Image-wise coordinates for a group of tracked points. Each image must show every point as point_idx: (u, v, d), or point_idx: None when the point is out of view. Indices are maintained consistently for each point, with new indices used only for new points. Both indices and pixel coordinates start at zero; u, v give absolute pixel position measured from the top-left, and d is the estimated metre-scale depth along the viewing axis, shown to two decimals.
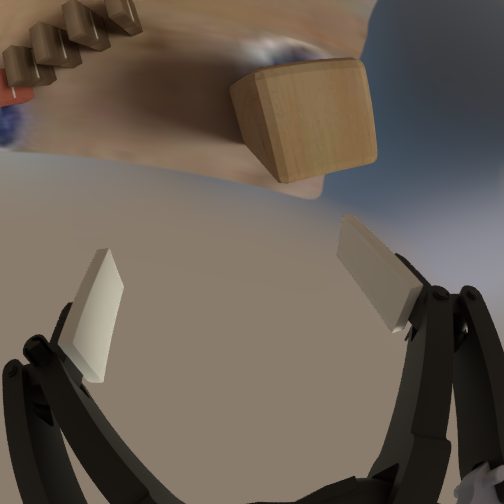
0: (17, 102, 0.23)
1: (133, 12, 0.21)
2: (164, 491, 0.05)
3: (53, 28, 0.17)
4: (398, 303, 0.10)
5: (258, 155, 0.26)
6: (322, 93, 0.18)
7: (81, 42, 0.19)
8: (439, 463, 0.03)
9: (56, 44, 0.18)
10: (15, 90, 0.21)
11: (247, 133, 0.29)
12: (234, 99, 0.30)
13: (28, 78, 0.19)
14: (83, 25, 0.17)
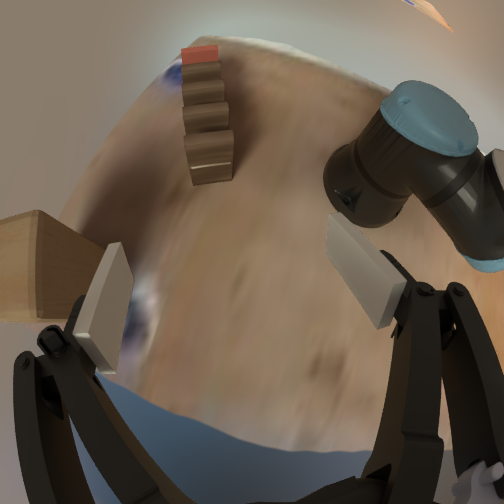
0: None
1: (209, 173, 0.38)
2: (172, 487, 0.05)
3: None
4: (382, 299, 0.10)
5: None
6: (14, 265, 0.16)
7: None
8: (432, 462, 0.04)
9: (200, 104, 0.36)
10: None
11: None
12: None
13: (184, 82, 0.35)
14: (195, 120, 0.32)
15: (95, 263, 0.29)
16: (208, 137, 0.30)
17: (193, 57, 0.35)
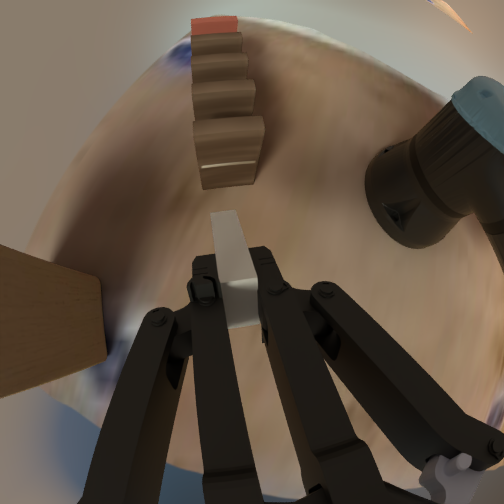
0: None
1: (225, 174, 0.28)
2: None
3: None
4: None
5: None
6: None
7: None
8: (365, 468, 0.04)
9: None
10: None
11: None
12: None
13: None
14: (209, 102, 0.23)
15: (70, 298, 0.20)
16: (228, 124, 0.21)
17: (206, 29, 0.26)
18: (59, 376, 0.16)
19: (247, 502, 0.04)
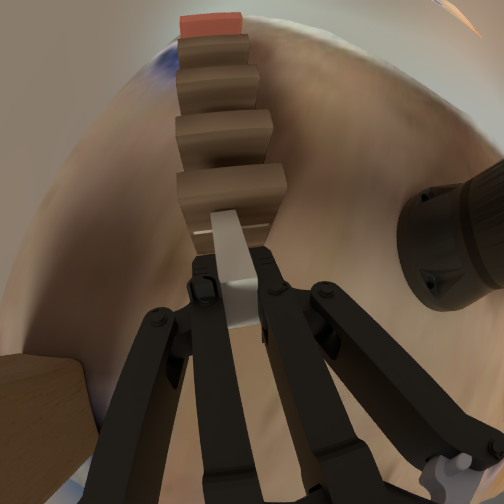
0: None
1: None
2: None
3: (247, 109, 0.20)
4: None
5: None
6: None
7: None
8: (365, 468, 0.04)
9: (211, 110, 0.20)
10: None
11: None
12: (40, 362, 0.16)
13: None
14: (202, 145, 0.16)
15: (49, 408, 0.13)
16: (231, 179, 0.14)
17: (200, 30, 0.19)
18: (55, 490, 0.09)
19: (247, 502, 0.04)
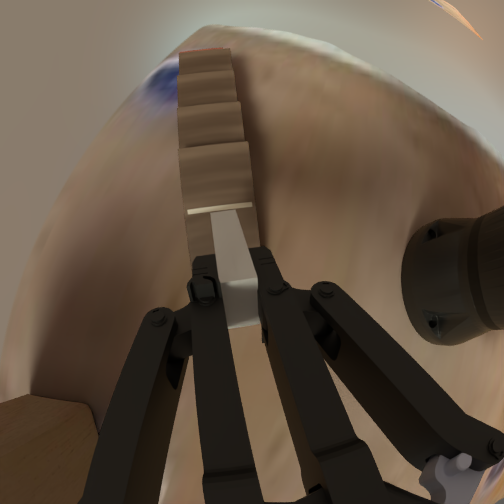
0: None
1: None
2: None
3: (231, 99, 0.24)
4: None
5: None
6: None
7: None
8: (365, 469, 0.04)
9: (202, 100, 0.24)
10: None
11: None
12: (51, 411, 0.15)
13: (180, 70, 0.25)
14: (194, 118, 0.23)
15: (64, 456, 0.12)
16: None
17: None
18: None
19: (247, 502, 0.04)
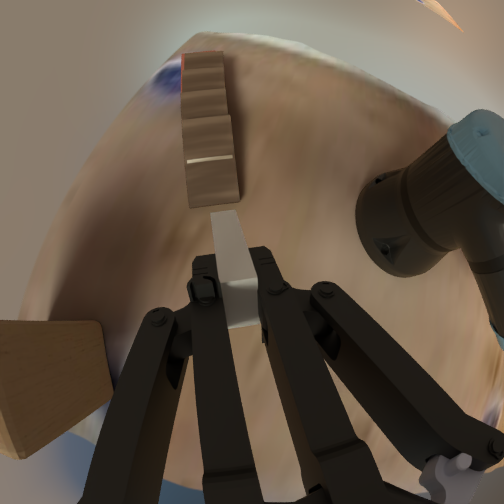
0: None
1: (209, 177, 0.31)
2: None
3: (220, 88, 0.33)
4: None
5: None
6: None
7: None
8: (365, 468, 0.04)
9: (199, 88, 0.32)
10: None
11: None
12: None
13: (185, 66, 0.33)
14: (192, 100, 0.31)
15: (76, 351, 0.20)
16: None
17: None
18: (75, 423, 0.16)
19: (247, 502, 0.04)
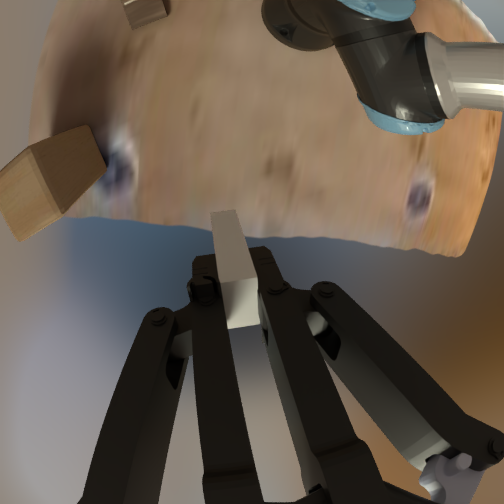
0: None
1: (142, 8, 0.26)
2: None
3: None
4: None
5: None
6: (30, 192, 0.23)
7: None
8: (365, 469, 0.04)
9: None
10: None
11: None
12: None
13: None
14: None
15: (78, 144, 0.32)
16: None
17: None
18: (87, 188, 0.33)
19: (247, 502, 0.04)
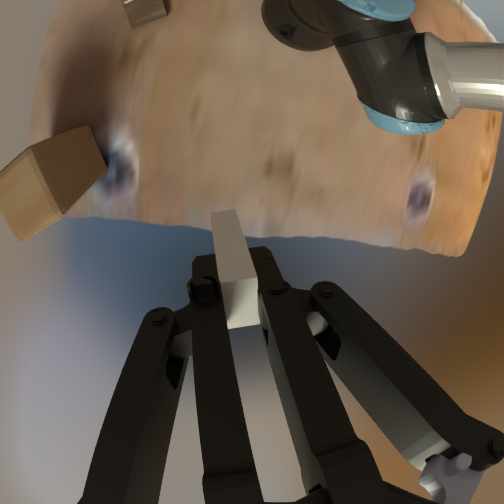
0: None
1: (142, 7, 0.26)
2: None
3: None
4: None
5: None
6: (30, 193, 0.23)
7: None
8: (365, 468, 0.04)
9: None
10: None
11: None
12: None
13: None
14: None
15: (79, 144, 0.32)
16: None
17: None
18: (87, 188, 0.33)
19: (247, 502, 0.04)
